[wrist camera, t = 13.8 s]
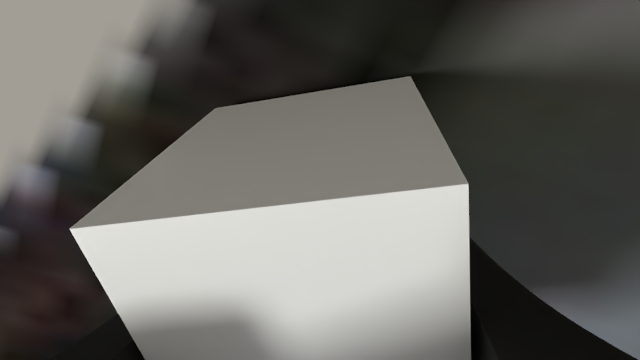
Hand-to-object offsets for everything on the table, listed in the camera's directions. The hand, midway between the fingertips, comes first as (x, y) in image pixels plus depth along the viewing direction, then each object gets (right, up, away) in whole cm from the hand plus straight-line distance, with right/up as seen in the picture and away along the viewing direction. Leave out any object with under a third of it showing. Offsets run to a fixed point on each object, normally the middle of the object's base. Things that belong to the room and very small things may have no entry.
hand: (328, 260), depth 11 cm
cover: (0, +1, +2) cm, 2 cm away
